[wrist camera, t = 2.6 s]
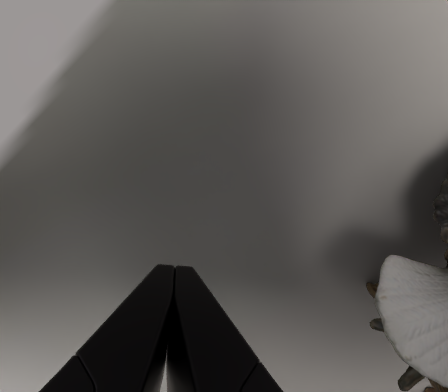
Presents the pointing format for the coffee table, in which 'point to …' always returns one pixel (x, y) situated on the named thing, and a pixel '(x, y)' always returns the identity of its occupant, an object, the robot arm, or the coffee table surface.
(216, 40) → the coffee table surface
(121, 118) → the coffee table surface
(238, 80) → the coffee table surface
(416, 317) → the eagle figurine
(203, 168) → the coffee table surface
